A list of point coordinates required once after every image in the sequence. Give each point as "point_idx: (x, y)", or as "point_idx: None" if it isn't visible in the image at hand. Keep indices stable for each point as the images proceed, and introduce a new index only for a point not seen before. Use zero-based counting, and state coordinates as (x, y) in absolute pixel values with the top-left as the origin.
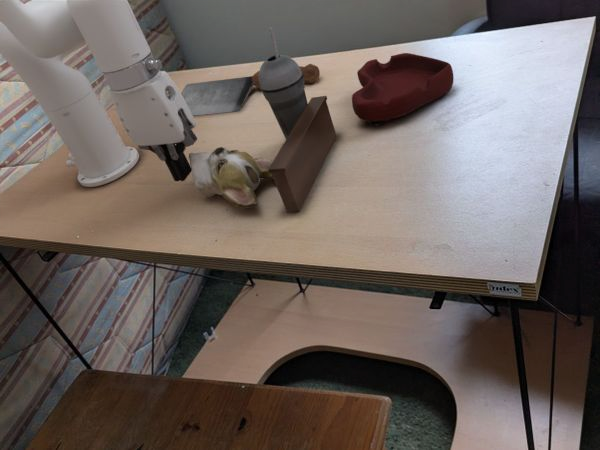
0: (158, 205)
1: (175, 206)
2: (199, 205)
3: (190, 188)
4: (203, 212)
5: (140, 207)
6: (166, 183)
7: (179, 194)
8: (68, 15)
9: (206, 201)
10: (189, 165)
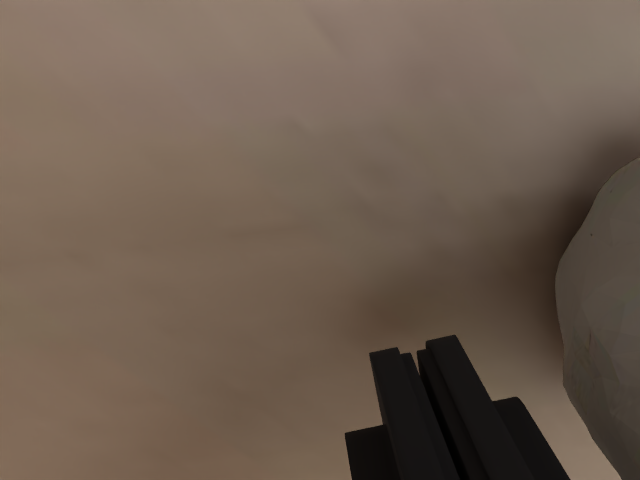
0: (207, 440)
1: (348, 425)
2: (520, 390)
3: (325, 267)
4: (584, 429)
5: (81, 475)
6: (35, 247)
7: (282, 333)
8: None
9: (550, 355)
10: (529, 417)
